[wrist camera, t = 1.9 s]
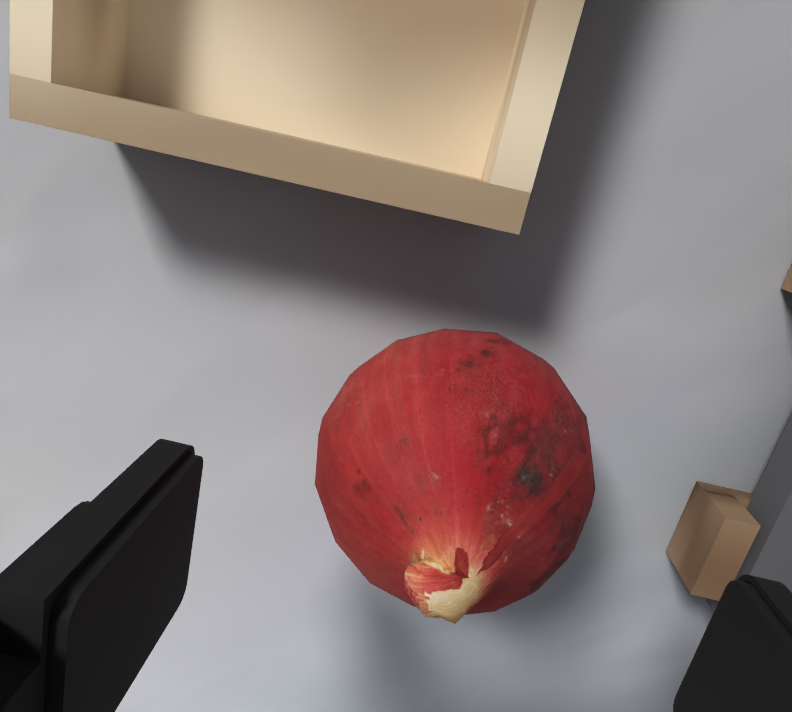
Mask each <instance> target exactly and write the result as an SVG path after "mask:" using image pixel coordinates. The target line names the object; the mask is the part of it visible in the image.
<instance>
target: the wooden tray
mask: <svg viewBox="0 0 792 712" xmlns="http://www.w3.org/2000/svg"><path fill="white" fill-rule="evenodd" d="M584 3H585V0H10V118H12V119H17V120H21V121H26V122H30V123H34V124H39V125H43V126H47V127H52V128H56V129H60V130H65V131H69V132H73V133H78V134H82V135H86V136H91V137H95V138H100V139H104V140H108V141H113V142H117V143H121V144H126V145H130V146H134V147H139V148H143V149H147V150H152V151H156V152H160V153H165V154H169V155H174V156H178V157H182V158H187V159H191V160H195V161H200V162H204V163H208V164H213V165H217V166H221V167H226V168H230V169H235V170H239V171H243V172H248V173H252V174H256V175H261V176H265V177H269V178H274V179H278V180H282V181H287V182H291V183H295V184H300V185H304V186H309V187H313V188H317V189H322V190H326V191H330V192H335V193H339V194H343V195H348V196H352V197H356V198H361V199H365V200H369V201H374V202H378V203H383V204H387V205H391V206H396V207H400V208H404V209H409V210H413V211H417V212H422V213H426V214H430V215H435V216H439V217H444V218H448V219H452V220H457V221H461V222H465V223H470V224H474V225H478V226H483V227H487V228H491V229H496V230H500V231H504V232H509V233H513V234H518V235H519V234H520V230H521V226H522V223H523V219H524V216H525V212H526V209H527V205H528V202H529V198H530V194H531V191H532V187H533V184H534V180H535V177H536V173H537V170H538V166H539V162H540V159H541V155H542V152H543V148H544V145H545V141H546V138H547V134H548V131H549V127H550V123H551V120H552V116H553V113H554V109H555V106H556V102H557V99H558V95H559V91H560V88H561V84H562V81H563V77H564V74H565V70H566V67H567V63H568V59H569V56H570V52H571V49H572V45H573V42H574V38H575V35H576V31H577V27H578V24H579V20H580V17H581V13H582V10H583V6H584Z"/></svg>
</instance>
